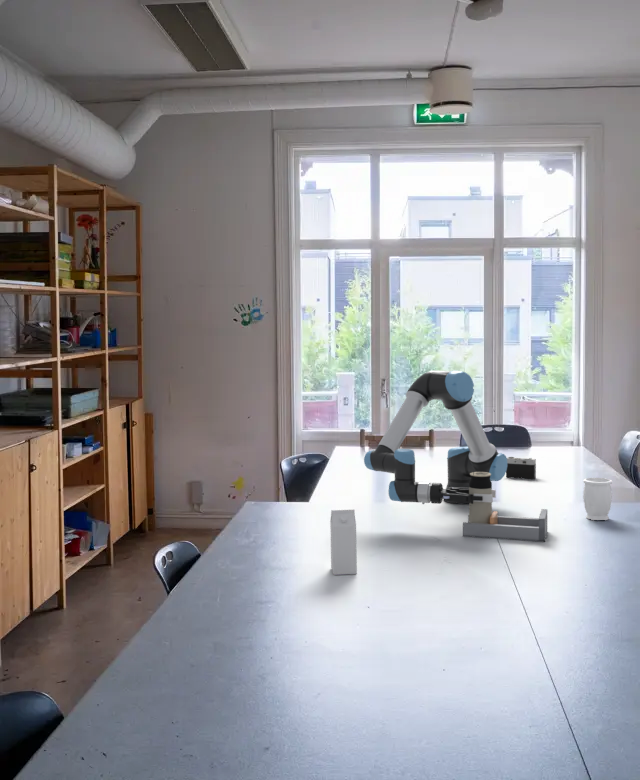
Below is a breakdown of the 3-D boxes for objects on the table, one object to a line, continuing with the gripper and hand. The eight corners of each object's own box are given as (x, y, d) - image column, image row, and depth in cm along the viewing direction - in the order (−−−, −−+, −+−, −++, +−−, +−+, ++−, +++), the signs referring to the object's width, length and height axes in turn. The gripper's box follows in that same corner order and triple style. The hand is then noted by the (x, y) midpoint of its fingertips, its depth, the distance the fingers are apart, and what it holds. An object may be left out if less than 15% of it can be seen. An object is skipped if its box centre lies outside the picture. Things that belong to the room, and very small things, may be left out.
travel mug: (493, 521, 284) (493, 472, 283) (490, 526, 277) (490, 476, 276) (470, 519, 287) (470, 471, 286) (467, 524, 280) (467, 474, 278)
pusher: (493, 527, 286) (493, 511, 285) (497, 527, 285) (497, 511, 285) (489, 534, 276) (489, 517, 276) (494, 534, 276) (494, 517, 275)
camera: (538, 476, 388) (538, 456, 387) (534, 479, 381) (534, 459, 380) (510, 474, 395) (510, 455, 394) (505, 477, 388) (505, 457, 387)
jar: (614, 522, 293) (614, 482, 292) (585, 521, 295) (585, 482, 294) (609, 515, 303) (609, 477, 302) (581, 515, 305) (581, 477, 304)
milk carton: (331, 568, 242) (330, 507, 241) (354, 567, 243) (352, 507, 241) (333, 575, 235) (332, 513, 234) (357, 574, 236) (355, 512, 234)
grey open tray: (469, 526, 291) (469, 505, 291) (547, 531, 282) (547, 509, 281) (462, 536, 277) (462, 514, 276) (544, 541, 268) (544, 518, 267)
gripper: (436, 497, 297) (497, 500, 290) (425, 509, 278) (490, 512, 270) (436, 477, 297) (497, 480, 289) (424, 488, 277) (490, 491, 270)
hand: (493, 496), depth 280 cm, fingers closed on travel mug, 8 cm apart
